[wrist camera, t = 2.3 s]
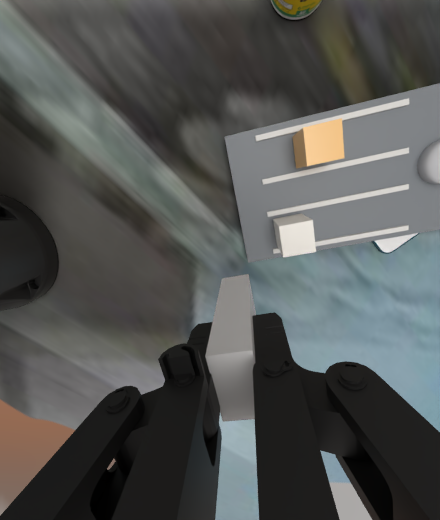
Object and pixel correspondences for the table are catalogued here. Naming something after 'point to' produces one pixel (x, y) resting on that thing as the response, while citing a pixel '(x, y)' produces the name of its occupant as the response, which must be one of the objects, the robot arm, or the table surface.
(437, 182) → the console
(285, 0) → the supplement bottle
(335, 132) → the slider orange
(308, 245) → the slider ivory
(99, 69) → the table surface
